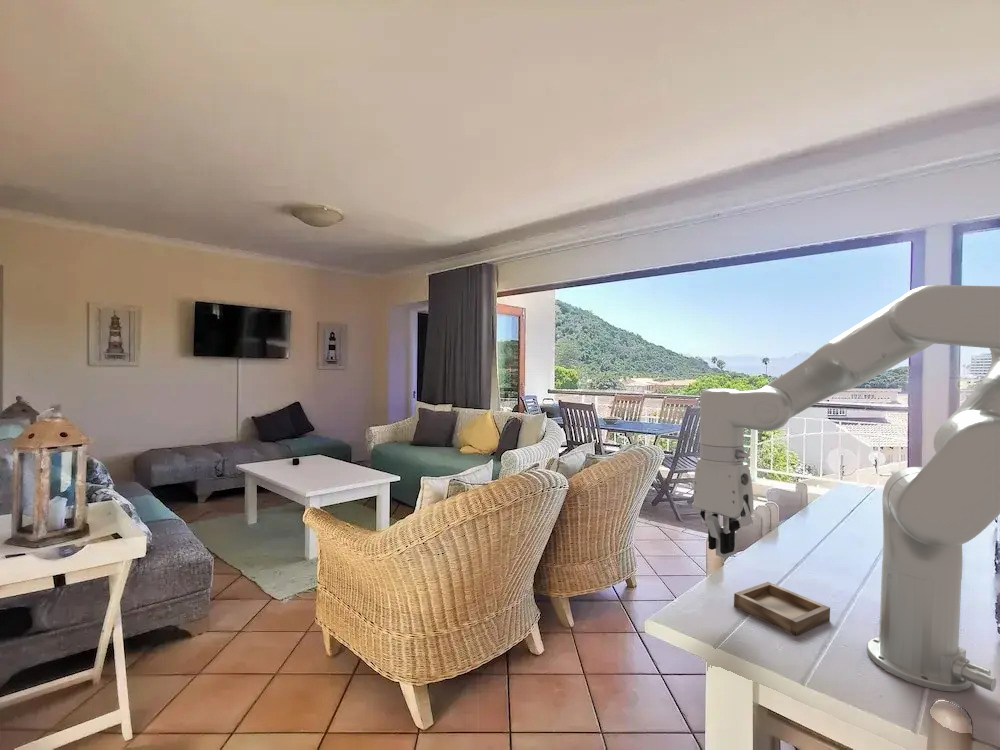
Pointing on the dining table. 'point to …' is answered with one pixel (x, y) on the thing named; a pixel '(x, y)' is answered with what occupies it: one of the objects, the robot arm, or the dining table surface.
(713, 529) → the lighter
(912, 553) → the robot arm
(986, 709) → the dining table surface
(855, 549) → the dining table surface
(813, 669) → the dining table surface
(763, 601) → the tray
